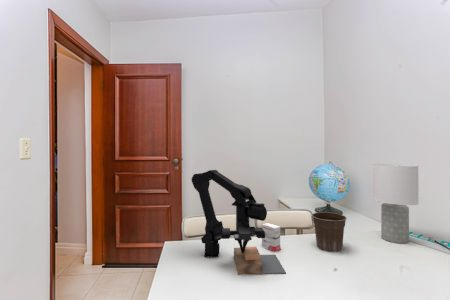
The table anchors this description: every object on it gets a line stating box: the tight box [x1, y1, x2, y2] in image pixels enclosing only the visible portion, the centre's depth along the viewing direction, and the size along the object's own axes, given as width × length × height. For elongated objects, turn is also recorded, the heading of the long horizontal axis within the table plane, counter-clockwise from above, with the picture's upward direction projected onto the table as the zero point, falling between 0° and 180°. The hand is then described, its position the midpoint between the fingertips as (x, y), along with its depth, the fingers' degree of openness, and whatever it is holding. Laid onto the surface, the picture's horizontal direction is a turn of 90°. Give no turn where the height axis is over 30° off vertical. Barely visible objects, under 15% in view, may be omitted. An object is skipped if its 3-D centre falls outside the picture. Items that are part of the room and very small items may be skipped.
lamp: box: [372, 163, 419, 245], centre depth 135 cm, size 21×21×42 cm
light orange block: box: [244, 245, 261, 260], centre depth 105 cm, size 6×9×2 cm, turn 3°
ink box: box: [261, 222, 281, 253], centre depth 122 cm, size 8×5×12 cm, turn 39°
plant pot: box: [311, 211, 347, 253], centre depth 124 cm, size 16×16×16 cm
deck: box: [233, 247, 264, 276], centre depth 105 cm, size 10×17×4 cm, turn 3°
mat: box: [260, 254, 287, 275], centre depth 105 cm, size 10×17×1 cm, turn 3°
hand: (242, 252), depth 104 cm, fingers closed
